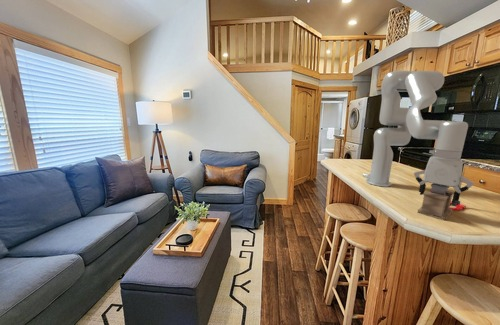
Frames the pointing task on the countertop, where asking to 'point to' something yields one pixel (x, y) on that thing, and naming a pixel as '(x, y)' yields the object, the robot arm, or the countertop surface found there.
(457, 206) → the tow hook
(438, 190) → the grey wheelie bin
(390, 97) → the robot arm
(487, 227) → the countertop surface
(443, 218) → the ribbed brown block
